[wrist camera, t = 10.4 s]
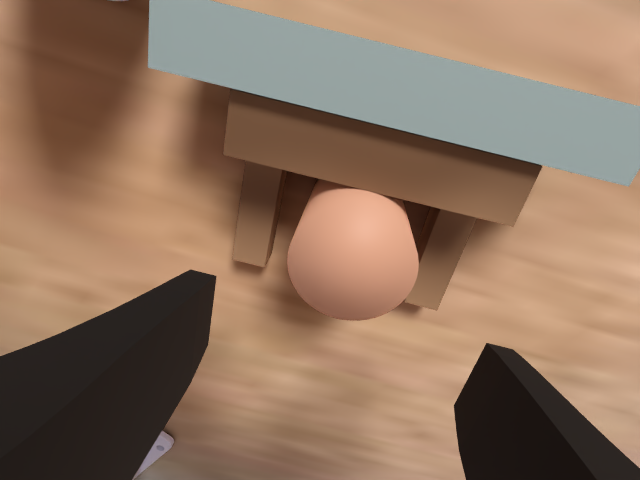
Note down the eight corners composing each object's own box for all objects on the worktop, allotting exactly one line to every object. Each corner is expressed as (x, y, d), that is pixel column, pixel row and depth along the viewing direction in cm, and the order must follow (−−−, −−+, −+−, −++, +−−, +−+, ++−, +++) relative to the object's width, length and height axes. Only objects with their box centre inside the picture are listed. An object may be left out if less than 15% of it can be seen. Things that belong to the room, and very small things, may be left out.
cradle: (431, 292, 19) (450, 356, 15) (241, 245, 19) (207, 295, 15) (495, 139, 15) (542, 166, 11) (265, 82, 15) (230, 89, 11)
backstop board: (551, 150, 15) (628, 186, 11) (211, 66, 15) (147, 67, 11) (576, 98, 14) (671, 114, 10) (216, 10, 15) (149, -15, 10)
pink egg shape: (361, 258, 18) (359, 340, 13) (294, 208, 18) (262, 272, 12) (420, 196, 17) (447, 260, 11) (349, 138, 16) (341, 176, 11)
